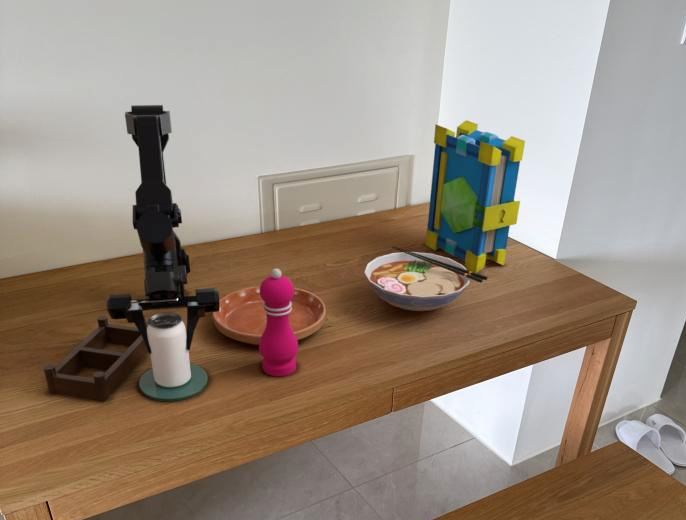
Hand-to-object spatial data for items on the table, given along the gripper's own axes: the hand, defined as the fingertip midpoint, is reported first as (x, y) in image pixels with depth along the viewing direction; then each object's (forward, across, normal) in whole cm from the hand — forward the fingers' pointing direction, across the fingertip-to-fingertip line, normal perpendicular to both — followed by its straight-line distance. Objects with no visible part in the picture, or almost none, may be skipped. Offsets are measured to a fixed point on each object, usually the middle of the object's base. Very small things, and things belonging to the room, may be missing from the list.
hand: (169, 351), depth 124 cm
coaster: (+4, 0, +6) cm, 7 cm away
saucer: (-9, +20, +19) cm, 29 cm away
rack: (-1, -12, +11) cm, 17 cm away
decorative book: (-29, +72, +40) cm, 88 cm away
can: (+4, 0, +6) cm, 7 cm away
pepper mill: (+3, +19, +7) cm, 21 cm away
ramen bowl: (-12, +52, +22) cm, 58 cm away
